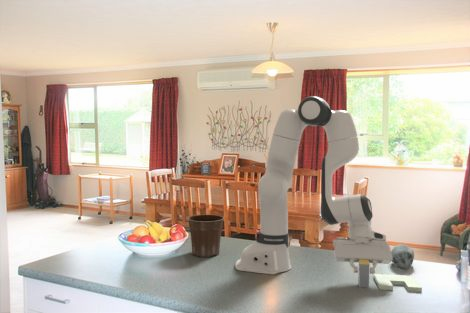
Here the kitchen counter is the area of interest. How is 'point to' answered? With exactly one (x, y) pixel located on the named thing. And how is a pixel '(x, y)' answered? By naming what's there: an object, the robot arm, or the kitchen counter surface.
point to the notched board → (397, 282)
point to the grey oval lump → (402, 256)
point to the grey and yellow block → (363, 273)
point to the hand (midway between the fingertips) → (364, 272)
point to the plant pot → (205, 234)
